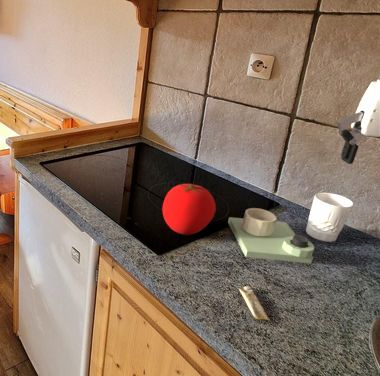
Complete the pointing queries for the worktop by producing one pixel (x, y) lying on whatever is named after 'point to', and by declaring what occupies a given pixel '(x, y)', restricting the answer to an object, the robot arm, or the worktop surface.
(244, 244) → the scale
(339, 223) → the white cup
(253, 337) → the worktop surface
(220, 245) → the worktop surface
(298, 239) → the tare button
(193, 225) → the tomato
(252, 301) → the snack bar
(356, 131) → the robot arm
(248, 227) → the bowl
